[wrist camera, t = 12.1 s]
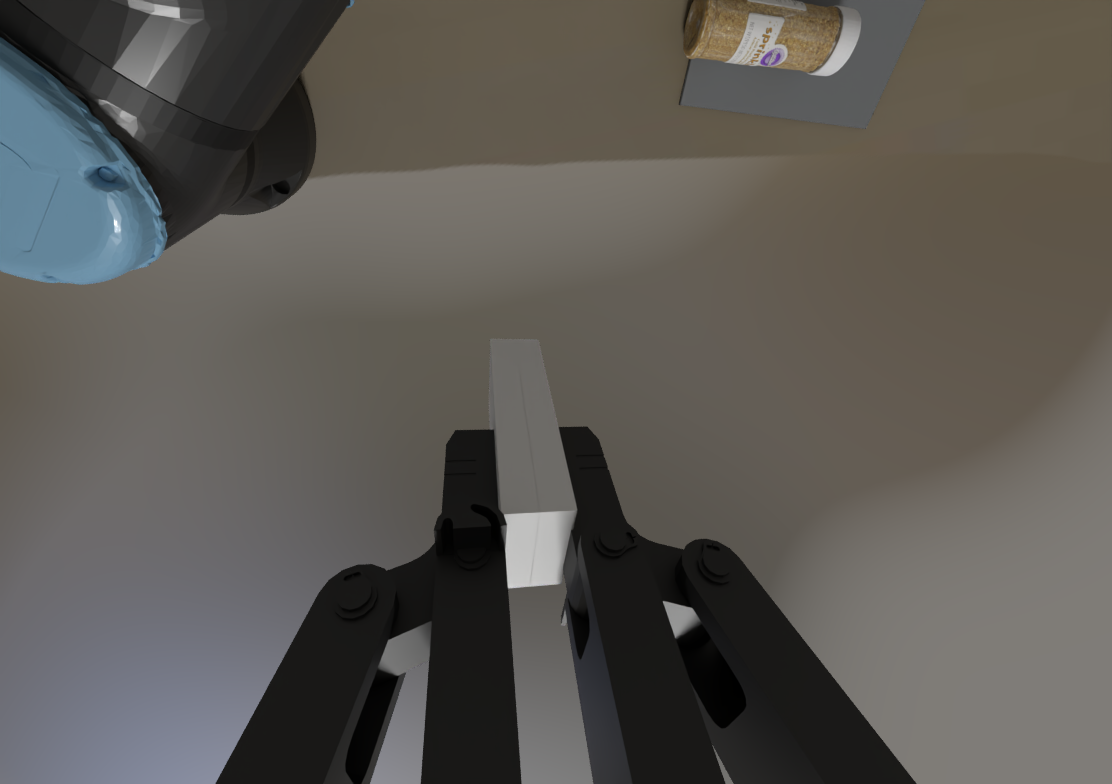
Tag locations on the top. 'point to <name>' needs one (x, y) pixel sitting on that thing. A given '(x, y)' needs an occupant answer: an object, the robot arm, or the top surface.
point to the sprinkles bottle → (772, 34)
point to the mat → (794, 94)
